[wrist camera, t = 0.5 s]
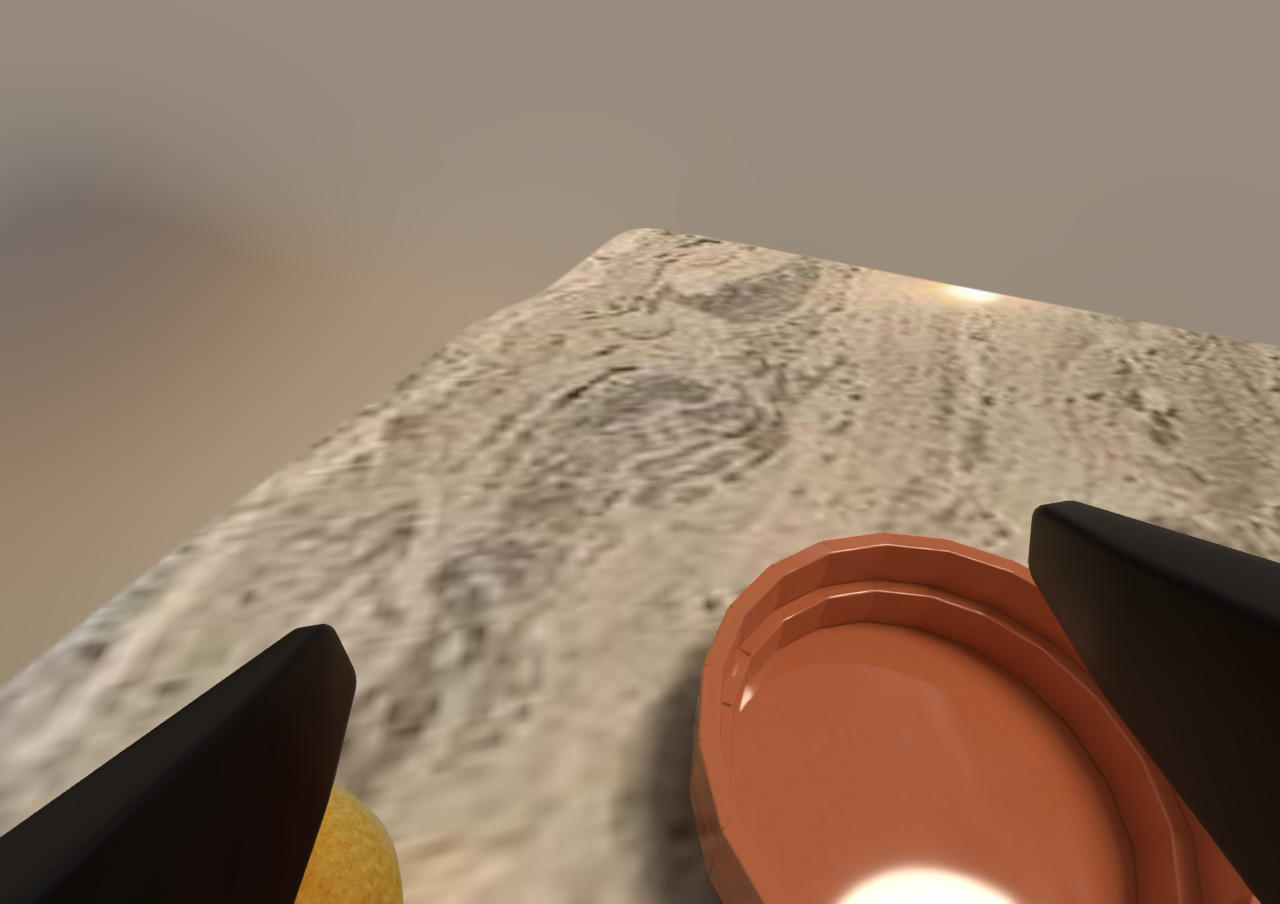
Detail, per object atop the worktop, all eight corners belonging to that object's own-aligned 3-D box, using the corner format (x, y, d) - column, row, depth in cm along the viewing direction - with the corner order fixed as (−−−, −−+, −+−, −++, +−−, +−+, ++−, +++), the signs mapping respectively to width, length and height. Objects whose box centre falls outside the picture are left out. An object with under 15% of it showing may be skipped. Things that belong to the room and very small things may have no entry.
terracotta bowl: (1303, 1033, 17) (1452, 1002, 14) (774, 1187, 15) (813, 1192, 12) (987, 584, 27) (1032, 510, 24) (650, 638, 25) (653, 564, 22)
